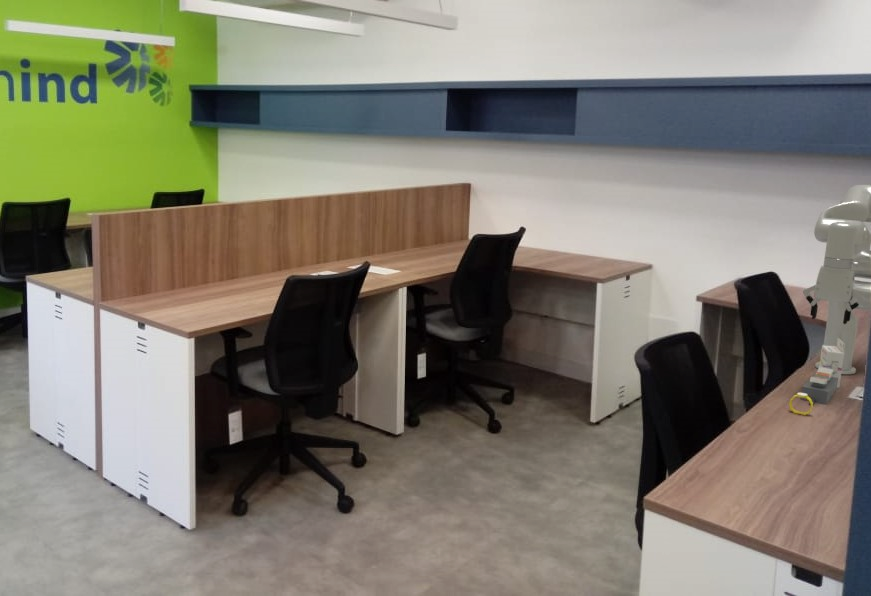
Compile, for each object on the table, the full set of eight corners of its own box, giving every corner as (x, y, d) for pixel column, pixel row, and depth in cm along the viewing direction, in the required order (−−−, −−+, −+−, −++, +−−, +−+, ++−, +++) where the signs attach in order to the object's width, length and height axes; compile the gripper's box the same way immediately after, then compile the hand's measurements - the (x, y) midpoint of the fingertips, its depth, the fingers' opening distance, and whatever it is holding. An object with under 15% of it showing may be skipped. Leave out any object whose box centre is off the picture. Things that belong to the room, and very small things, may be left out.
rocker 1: (819, 370, 251) (819, 366, 250) (832, 373, 248) (833, 369, 248) (815, 378, 247) (815, 373, 246) (829, 380, 244) (829, 376, 244)
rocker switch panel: (812, 385, 254) (814, 371, 253) (836, 390, 250) (838, 375, 249) (797, 402, 236) (800, 387, 235) (823, 408, 232) (825, 392, 231)
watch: (788, 413, 227) (789, 393, 226) (790, 410, 230) (791, 391, 229) (810, 416, 224) (812, 396, 223) (812, 414, 226) (814, 394, 225)
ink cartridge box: (816, 379, 261) (822, 335, 258) (832, 380, 261) (838, 337, 257) (823, 386, 253) (829, 342, 250) (839, 388, 252) (846, 343, 249)
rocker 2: (812, 380, 244) (813, 376, 243) (826, 383, 241) (827, 378, 241) (809, 381, 239) (810, 376, 239) (824, 384, 237) (825, 379, 237)
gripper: (872, 266, 234) (863, 323, 237) (808, 258, 243) (801, 314, 247) (868, 269, 227) (859, 328, 231) (803, 261, 237) (795, 318, 241)
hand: (829, 320), depth 239 cm, fingers open, 8 cm apart
